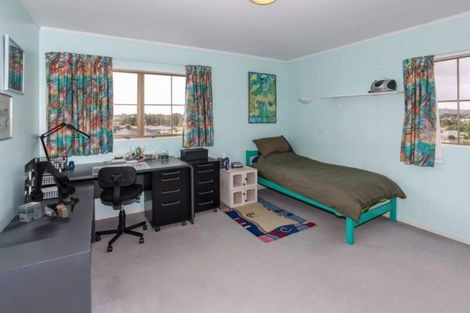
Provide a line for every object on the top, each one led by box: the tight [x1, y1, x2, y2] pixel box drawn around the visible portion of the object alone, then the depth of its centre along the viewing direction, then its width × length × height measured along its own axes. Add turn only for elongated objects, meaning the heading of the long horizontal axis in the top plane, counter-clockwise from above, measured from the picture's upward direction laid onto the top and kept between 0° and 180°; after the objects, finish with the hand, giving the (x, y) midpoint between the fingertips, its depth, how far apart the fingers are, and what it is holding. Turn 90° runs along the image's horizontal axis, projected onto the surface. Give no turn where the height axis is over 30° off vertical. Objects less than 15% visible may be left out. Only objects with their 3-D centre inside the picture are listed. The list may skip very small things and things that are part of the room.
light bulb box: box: [18, 201, 43, 223], centre depth 183 cm, size 11×7×11 cm, turn 168°
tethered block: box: [53, 204, 69, 219], centre depth 189 cm, size 11×6×6 cm, turn 56°
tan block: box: [44, 205, 61, 217], centre depth 195 cm, size 7×10×5 cm
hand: (64, 214), depth 187 cm, fingers open, 9 cm apart
